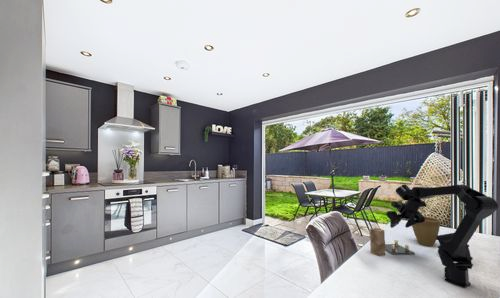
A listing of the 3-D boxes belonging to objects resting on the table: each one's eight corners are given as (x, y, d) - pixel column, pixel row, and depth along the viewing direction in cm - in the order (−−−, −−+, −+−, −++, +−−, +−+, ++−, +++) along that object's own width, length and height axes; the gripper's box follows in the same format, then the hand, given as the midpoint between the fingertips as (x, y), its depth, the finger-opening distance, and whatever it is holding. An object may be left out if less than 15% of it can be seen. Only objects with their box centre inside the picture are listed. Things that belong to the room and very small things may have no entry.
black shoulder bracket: (478, 265, 103) (458, 232, 109) (447, 267, 113) (431, 236, 120) (481, 263, 104) (461, 231, 111) (450, 265, 114) (434, 236, 121)
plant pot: (448, 249, 127) (447, 221, 129) (423, 248, 128) (421, 220, 129) (428, 240, 142) (427, 215, 143) (405, 240, 142) (404, 215, 144)
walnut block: (385, 254, 117) (384, 230, 118) (379, 256, 115) (379, 231, 116) (375, 251, 122) (375, 227, 123) (370, 252, 119) (370, 228, 120)
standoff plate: (415, 254, 118) (414, 246, 119) (392, 254, 118) (392, 247, 118) (397, 245, 131) (396, 239, 132) (376, 245, 130) (376, 239, 131)
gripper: (415, 196, 120) (403, 215, 128) (385, 196, 118) (374, 216, 126) (432, 211, 111) (417, 231, 119) (399, 211, 108) (386, 232, 116)
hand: (398, 227), depth 120 cm, fingers open, 9 cm apart
